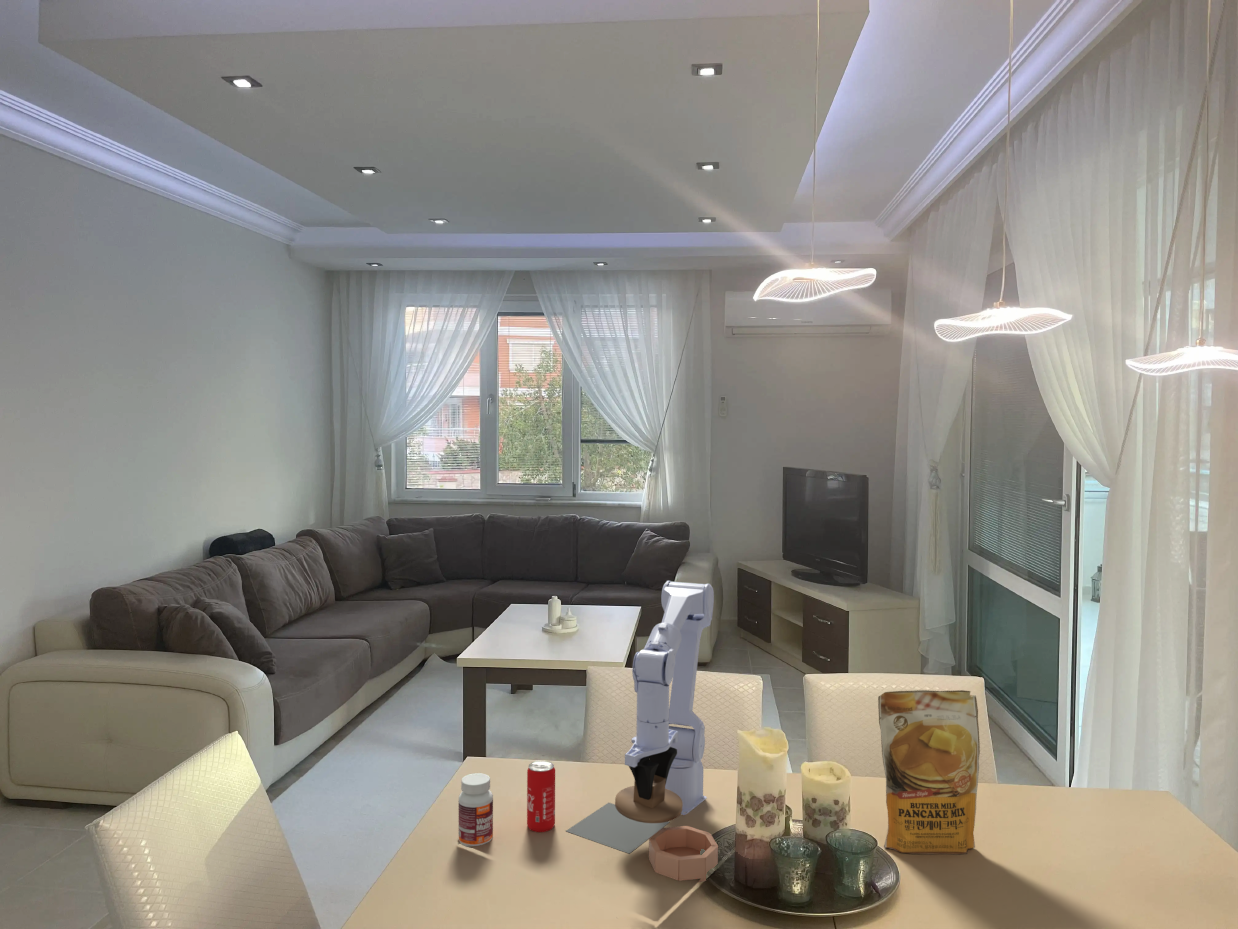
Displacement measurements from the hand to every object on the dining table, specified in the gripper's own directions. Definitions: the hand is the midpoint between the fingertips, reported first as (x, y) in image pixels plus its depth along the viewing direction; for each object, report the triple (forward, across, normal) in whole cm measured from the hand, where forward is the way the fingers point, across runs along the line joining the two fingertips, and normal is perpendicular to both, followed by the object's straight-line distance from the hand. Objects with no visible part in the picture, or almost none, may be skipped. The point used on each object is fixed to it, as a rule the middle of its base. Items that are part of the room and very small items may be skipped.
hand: (651, 793), depth 147 cm
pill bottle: (+10, +16, -27) cm, 33 cm away
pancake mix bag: (+10, -30, +40) cm, 51 cm away
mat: (+10, -2, -9) cm, 13 cm away
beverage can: (+10, +6, -20) cm, 24 cm away
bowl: (+10, +2, +8) cm, 13 cm away
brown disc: (+2, 0, -1) cm, 3 cm away
